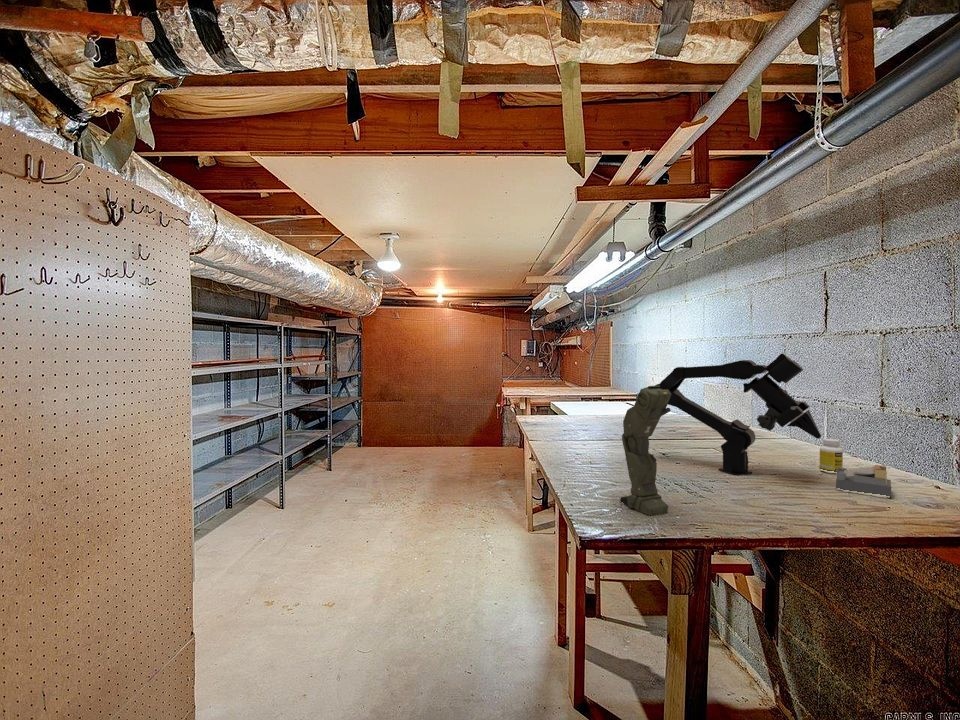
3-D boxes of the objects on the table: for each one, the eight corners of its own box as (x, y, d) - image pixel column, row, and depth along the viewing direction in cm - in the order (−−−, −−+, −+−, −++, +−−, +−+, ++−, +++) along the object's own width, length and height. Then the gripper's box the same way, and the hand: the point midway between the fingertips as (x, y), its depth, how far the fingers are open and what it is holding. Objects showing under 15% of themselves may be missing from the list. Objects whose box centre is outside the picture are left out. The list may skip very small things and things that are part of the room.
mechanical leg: (606, 494, 111) (624, 379, 104) (629, 490, 114) (648, 378, 107) (643, 526, 99) (666, 398, 92) (669, 521, 101) (693, 397, 94)
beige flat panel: (837, 473, 116) (879, 468, 110) (838, 469, 119) (879, 465, 113) (839, 478, 115) (881, 473, 110) (840, 474, 119) (881, 469, 113)
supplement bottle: (837, 475, 128) (837, 442, 128) (816, 471, 133) (815, 439, 133) (846, 473, 131) (846, 440, 131) (824, 469, 136) (824, 437, 136)
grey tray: (835, 490, 114) (835, 465, 114) (838, 483, 120) (837, 460, 120) (891, 499, 107) (891, 472, 107) (890, 491, 113) (890, 466, 113)
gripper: (755, 408, 138) (798, 449, 131) (741, 415, 124) (788, 461, 117) (786, 385, 132) (832, 426, 125) (775, 389, 118) (827, 435, 111)
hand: (819, 437), depth 120 cm, fingers closed
